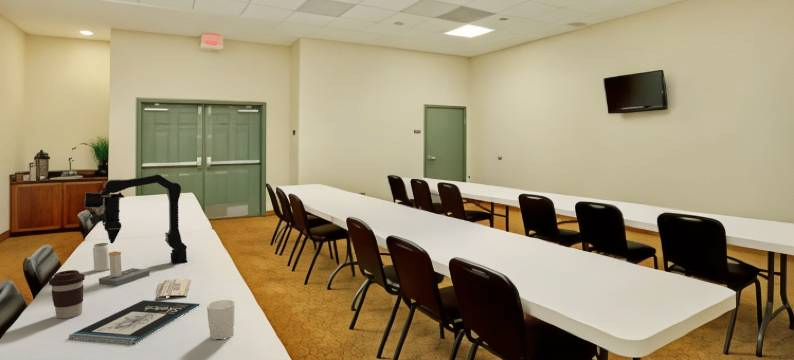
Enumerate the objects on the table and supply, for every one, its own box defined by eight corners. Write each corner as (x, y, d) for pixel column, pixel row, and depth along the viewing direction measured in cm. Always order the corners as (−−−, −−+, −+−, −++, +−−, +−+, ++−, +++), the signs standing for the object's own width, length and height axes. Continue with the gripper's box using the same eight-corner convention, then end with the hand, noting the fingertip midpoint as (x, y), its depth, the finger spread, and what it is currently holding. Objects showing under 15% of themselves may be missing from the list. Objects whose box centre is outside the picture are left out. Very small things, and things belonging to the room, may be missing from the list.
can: (102, 271, 205) (101, 246, 204) (90, 271, 207) (89, 245, 206) (114, 268, 212) (112, 243, 211) (102, 267, 213) (101, 242, 212)
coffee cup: (63, 310, 159) (60, 268, 158) (93, 309, 160) (90, 268, 159) (44, 321, 150) (41, 277, 148) (75, 320, 150) (72, 276, 149)
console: (132, 273, 203) (132, 267, 203) (149, 275, 200) (149, 270, 200) (99, 284, 188) (98, 278, 188) (116, 286, 185) (116, 280, 185)
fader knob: (116, 274, 192) (114, 251, 191) (122, 275, 191) (120, 251, 190) (110, 276, 189) (108, 252, 188) (116, 277, 188) (114, 253, 187)
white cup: (225, 328, 144) (224, 298, 143) (240, 334, 139) (239, 303, 139) (203, 337, 137) (201, 305, 137) (218, 343, 133) (216, 311, 132)
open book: (159, 285, 189) (159, 279, 189) (190, 284, 193) (191, 279, 193) (150, 302, 168) (150, 296, 167) (186, 302, 172) (186, 295, 172)
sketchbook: (199, 307, 164) (199, 301, 164) (134, 347, 132) (133, 340, 132) (143, 303, 168) (143, 297, 167) (66, 341, 136) (65, 334, 136)
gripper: (89, 205, 206) (88, 238, 207) (91, 210, 191) (90, 246, 192) (117, 204, 213) (117, 237, 214) (121, 209, 198) (120, 244, 199)
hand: (111, 241), depth 204 cm, fingers open, 9 cm apart
